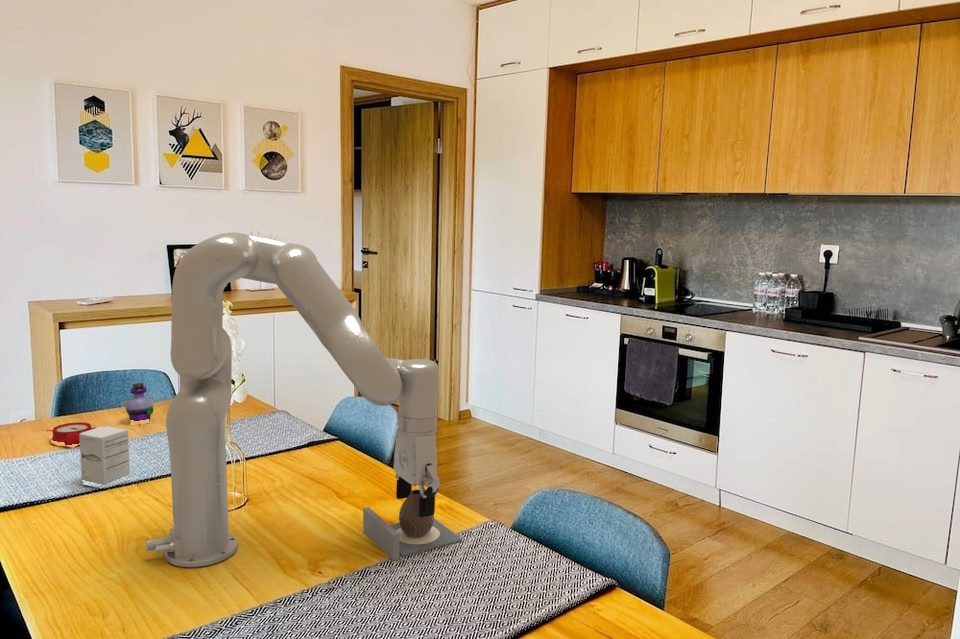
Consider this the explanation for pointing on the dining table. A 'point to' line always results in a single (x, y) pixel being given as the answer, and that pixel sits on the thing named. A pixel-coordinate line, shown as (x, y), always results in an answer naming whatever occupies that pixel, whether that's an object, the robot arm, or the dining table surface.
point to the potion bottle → (139, 403)
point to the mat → (425, 539)
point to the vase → (414, 517)
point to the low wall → (381, 533)
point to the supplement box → (104, 454)
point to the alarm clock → (70, 432)
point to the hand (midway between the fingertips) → (414, 506)
